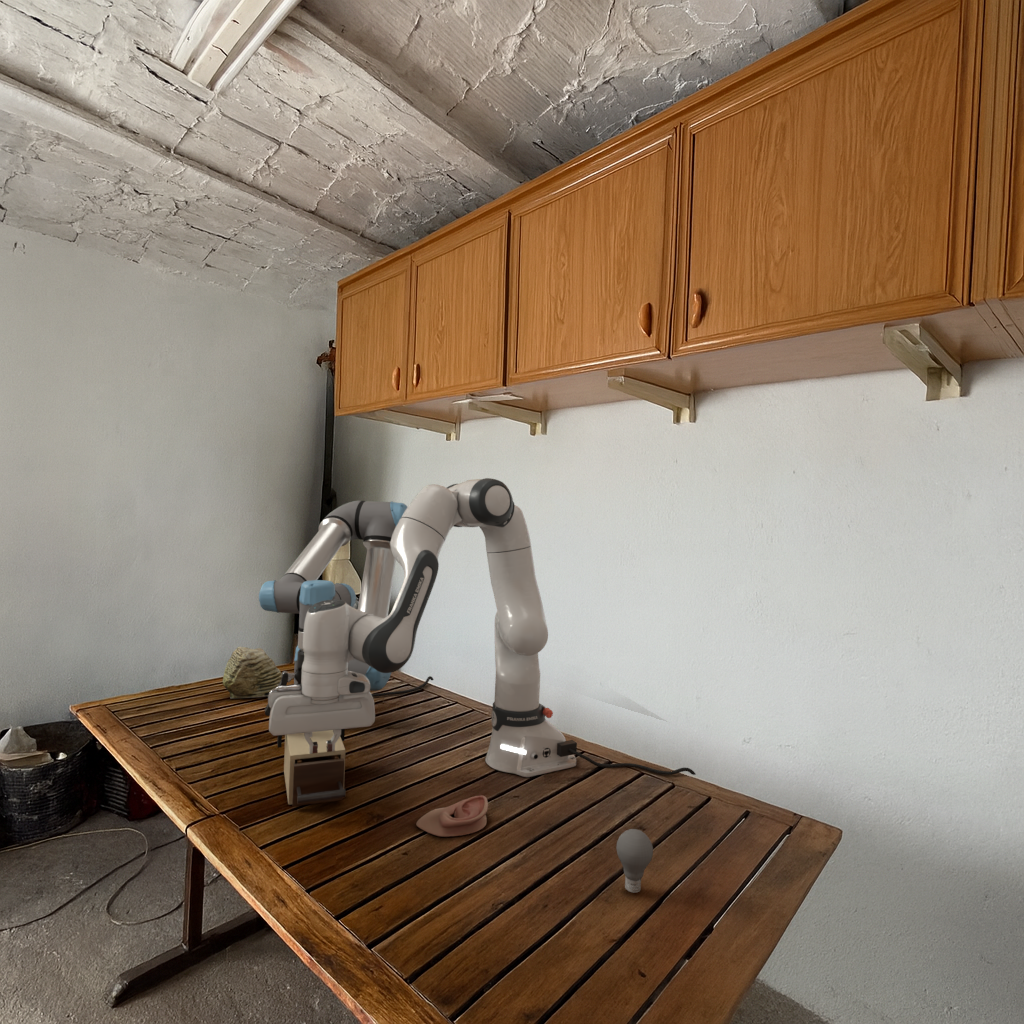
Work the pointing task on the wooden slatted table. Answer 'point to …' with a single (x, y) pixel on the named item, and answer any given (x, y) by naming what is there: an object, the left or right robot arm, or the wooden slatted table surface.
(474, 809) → the anatomical model
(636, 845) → the light bulb
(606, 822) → the wooden slatted table surface
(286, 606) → the left robot arm
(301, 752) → the cabinet
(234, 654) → the fossil
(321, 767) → the drawer
